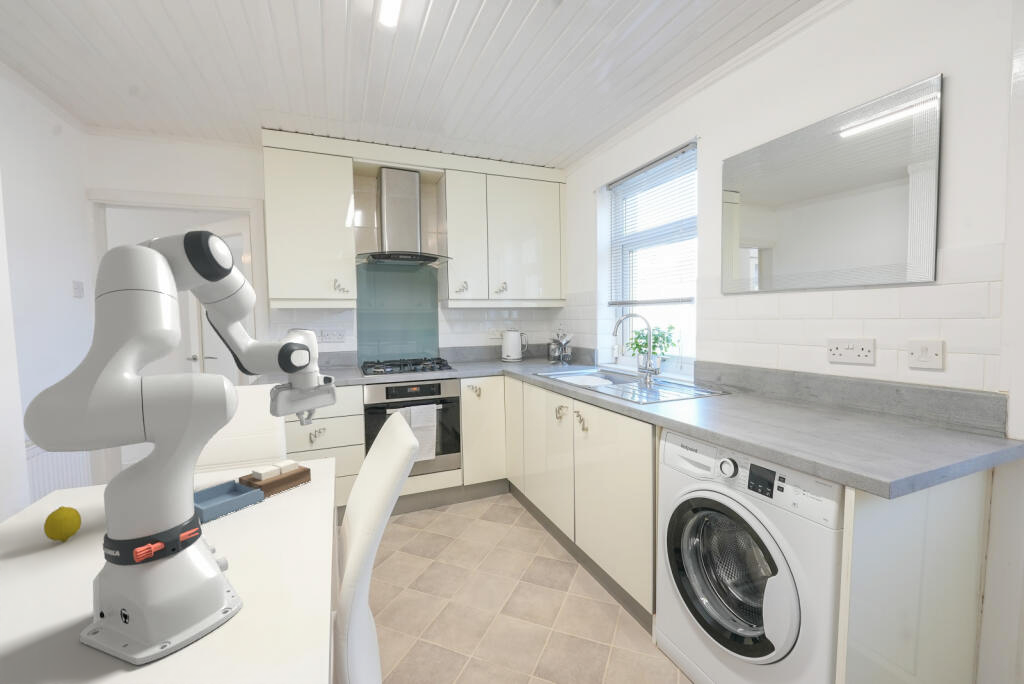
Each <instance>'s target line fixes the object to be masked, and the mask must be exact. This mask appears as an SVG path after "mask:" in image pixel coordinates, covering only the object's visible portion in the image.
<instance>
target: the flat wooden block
mask: <svg viewBox="0 0 1024 684" xmlns="http://www.w3.org/2000/svg"><path fill="white" fill-rule="evenodd" d="M298 467H299V468H298V469H295V470H292V471H289V472H286V473H283V474H281V473H280V475H277V476H274V477H271V478H268V479H265V480H259V479H256V478H253V475H252V473H249V474H246V475H243V476H240V477H238V483H241V484H244V485H246V486H249V487H252V488H255V489H261V491H263V492H264V498H266V497H269V496H271V495H274V494H277V493H280V492H282V491H285V490H288V489H290V488H293V487H296V486H298V485H300V484H303V483H306V482H309V481H311V482H312V477H311V474H312V473H311V468H310V467H307V466H306V467H305V466H303V465H299V464H298ZM309 483H310V482H309ZM306 484H307V483H306ZM298 487H299V486H298ZM296 488H297V487H296ZM293 489H294V488H293ZM290 490H291V489H290ZM288 491H289V490H288ZM285 492H286V491H285ZM282 493H283V492H282ZM280 494H281V493H280ZM277 495H278V494H277ZM274 496H275V495H274ZM269 498H270V497H269Z"/></svg>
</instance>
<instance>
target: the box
mask: <svg viewBox="0 0 1024 684" xmlns="http://www.w3.org/2000/svg"><path fill="white" fill-rule="evenodd" d="M262 500H264V501H265V499H264V492H263V491H261V489H255V488H252V487H249V486H246V485H244V484H241V483H239V481H238V482H236V479H231V480H228V481H226V482H223V483H220V484H217V485H213V486H209V487H207V488H204V489H200V490H197V491H194V509H195V510H196V511H197V514H198V517H199V519H200V523H201V522H202V523H201V524H203V523H205V524H207V523H206V522H208V521H210V522H212V521H211V520H213V519H215V520H217V519H216V518H218V517H220V516H223V515H226V514H228V513H231V512H234V511H236V512H238V511H237V510H239V509H242V508H244V507H247V506H249V505H252V504H255V503H257V502H260V501H262ZM260 503H261V502H260ZM257 504H258V503H257ZM255 505H256V504H255ZM252 506H253V505H252ZM247 508H248V507H247ZM244 509H245V508H244ZM242 510H243V509H242ZM239 511H240V510H239ZM234 513H235V512H234ZM231 514H232V513H231ZM226 516H227V515H226ZM223 517H224V516H223ZM218 519H219V518H218ZM213 521H214V520H213ZM208 523H209V522H208Z"/></svg>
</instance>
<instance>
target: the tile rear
mask: <svg viewBox="0 0 1024 684" xmlns="http://www.w3.org/2000/svg"><path fill="white" fill-rule="evenodd" d="M271 465H272V466H276V467H279V468H280V473H281V474H283V473H286V472H289V471H292V470H295V469H298V468H299V467H298V465H299V461H296V460H293V459H289V458H287V459H286V460H282V461H278V462H275V463H272V464H271Z"/></svg>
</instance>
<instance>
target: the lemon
mask: <svg viewBox="0 0 1024 684" xmlns="http://www.w3.org/2000/svg"><path fill="white" fill-rule="evenodd" d="M81 526H82V516H81V514H80V512H79V511H78V510H77V509H76V508H73V507H71V506H62V505H61V506H59V507H58V508H57V509H55V510H53V511H52V512H51V513H49V514H48V515H47V517H46V519H45V521H44V524H43V531H44V534H45V536H46V537H47V539H49V540H51V541H54V542H55V541H58V542H61V543H65V542H67V541H68V540H69V539H70V538H71V537H73V536H75V535H76V534H77V533H78V531H79V530H80V529H81Z"/></svg>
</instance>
